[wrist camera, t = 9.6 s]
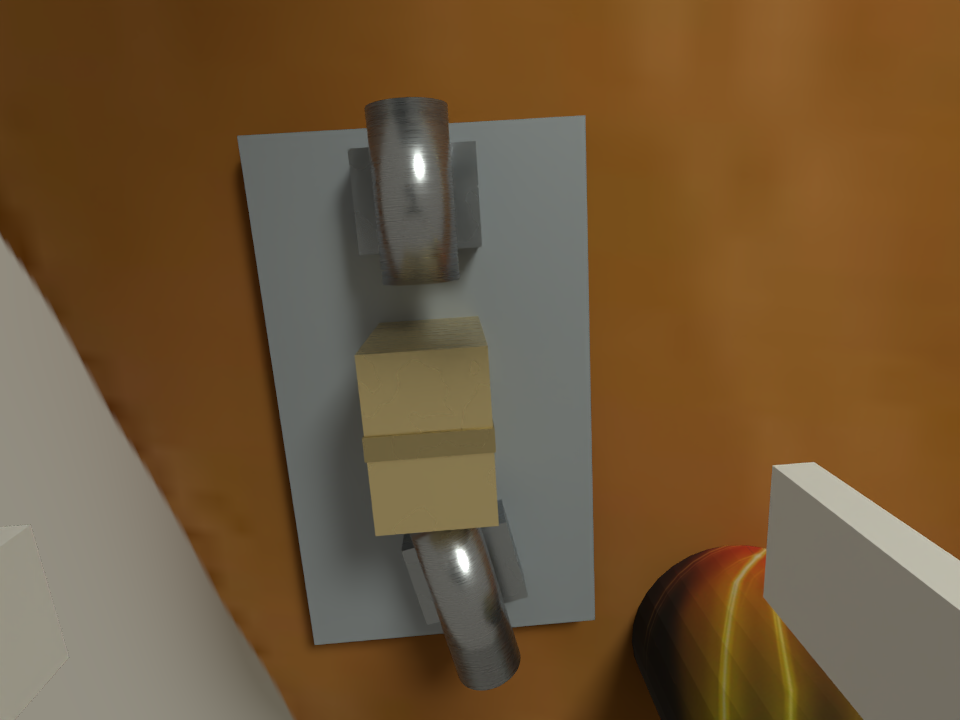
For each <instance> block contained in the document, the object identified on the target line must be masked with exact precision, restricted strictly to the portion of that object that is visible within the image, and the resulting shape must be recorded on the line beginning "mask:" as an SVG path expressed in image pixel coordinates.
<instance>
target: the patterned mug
mask: <svg viewBox="0 0 960 720" xmlns="http://www.w3.org/2000/svg"><path fill="white" fill-rule="evenodd" d="M766 551H767V549H764V548H759V547H753V546H747V545H729V546H722V547H717V548H712V549H707V550H705V551H702V552H699V553H697V554H694V555H692V556H689V557H687V558H686V559H684V560H682V561H681V562H679V563H677V564H676V565H674V566H673V567H671V568H670V569H669V570H668V571H667V572H666V573H664V574H663V575H662V576H661V577H660V578H659V579H658V580H657V581H656V582H655V583H654V585H653V586H652V587H651V588H650V590H649V591H648V592H647V593H646V595H645V597H644V599H643V601H642V603H641V604H640V606H639V608H638V611H637V614H636V618H635V621H634V624H633V636H632V644H633V650H634V657H635V659H636V662H637V664H638V667H639V669H640V671H641V674H642V676H643V678H644V681H645V683H646V685H647V688H648V690H649V692H650V695H651V697H652V699H653V702H654V704H655V706H656V709H657V711H658V713H659V716H660V718H661V720H863V718H862V717H861V716H860V715H859V713H858V712H857V711H856V710H855V709H854V707H853V706H852V705H851V704H850V702H849V701H848V700H847V699H846V698H845V696H844V695H843V694H842V693H841V691H840V690H839V689H838V688H837V687H836V685H835V684H834V683H833V682H832V680H831V679H830V678H829V677H828V676H827V674H826V673H825V672H824V671H823V669H822V668H821V667H820V666H819V665H818V663H817V662H816V661H815V660H814V658H813V657H812V656H811V655H810V654H809V652H808V651H807V650H806V649H805V647H804V646H803V645H802V644H801V643H800V641H799V640H798V639H797V638H796V637H795V635H794V634H793V633H792V632H791V630H790V629H789V628H788V627H787V626H786V624H785V623H784V622H783V621H782V619H781V618H780V617H779V616H778V615H777V613H776V612H775V611H774V610H773V608H772V607H771V606H770V605H769V604H768V602H767V601H766V600H765V599H764V597H763V593H764V579H765V565H766Z"/></svg>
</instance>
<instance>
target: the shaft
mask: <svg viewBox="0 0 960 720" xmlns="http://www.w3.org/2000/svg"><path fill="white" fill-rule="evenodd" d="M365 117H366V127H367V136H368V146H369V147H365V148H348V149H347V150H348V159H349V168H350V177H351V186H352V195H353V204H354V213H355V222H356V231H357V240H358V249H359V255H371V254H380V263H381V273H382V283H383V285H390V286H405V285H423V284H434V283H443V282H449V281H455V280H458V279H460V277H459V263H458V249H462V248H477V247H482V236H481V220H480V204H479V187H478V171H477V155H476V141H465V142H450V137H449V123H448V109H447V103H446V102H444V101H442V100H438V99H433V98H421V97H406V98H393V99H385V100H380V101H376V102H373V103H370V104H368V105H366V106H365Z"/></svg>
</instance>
